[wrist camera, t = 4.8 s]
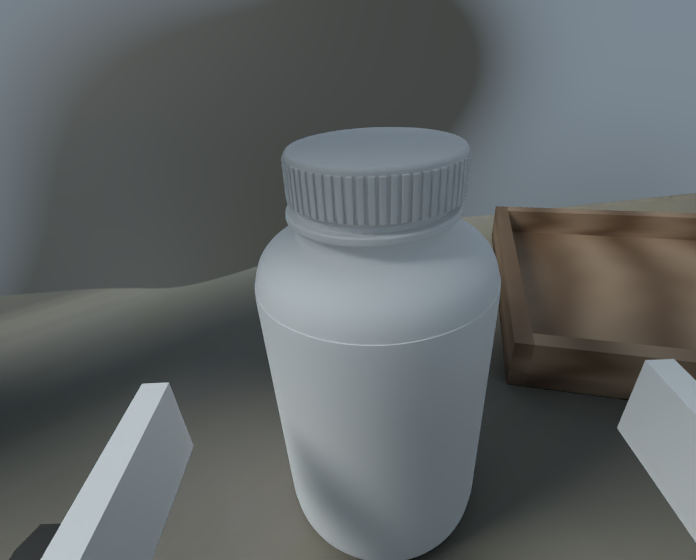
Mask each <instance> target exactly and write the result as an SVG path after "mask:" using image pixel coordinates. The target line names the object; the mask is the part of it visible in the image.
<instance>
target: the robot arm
mask: <svg viewBox="0 0 696 560" xmlns="http://www.w3.org/2000/svg"><path fill="white" fill-rule="evenodd" d="M617 429H618V430H619V432H620V433H621V435H622V436H623V438H624V439H625V440H626V442H627V443H628V445H629V446H630V448H631V449H632V451H633V452H634V453H635V455H636V456H637V458H638V459H639V461H640V462H641V464H642V465H643V466H644V468H645V469H646V471H647V472H648V474H649V475H650V477H651V478H652V480H653V481H654V482H655V484H656V485H657V487H658V488H659V490H660V491H661V493H662V494H663V495H664V497H665V498H666V500H667V501H668V503H669V504H670V506H671V507H672V509H673V510H674V511H675V513H676V514H677V516H678V517H679V519H680V520H681V522H682V523H683V524H684V526H685V527H686V529H687V530H688V532H689V533H690V535H691V536H692V537H693V539H694V540H695V542H696V380H695V379H694V378H693V377H692V376H691V375H690V374H689V373H688V372H687V371H686V370H685V369H684V368H683V367H682V366H681V365H680V364H679V363H678V362H677V361H676V360H675V359H659V360H645V362H644V364H643V367H642V369H641V372H640V374H639V376H638V379H637V381H636V384H635V386H634V388H633V391H632V393H631V396H630V398H629V400H628V403H627V405H626V408H625V410H624V412H623V415H622V417H621V420H620V422H619V424H618V427H617ZM193 447H194V446H193V444H192V441H191V438H190V436H189V433H188V431H187V428H186V425H185V423H184V420H183V417H182V415H181V412H180V410H179V407H178V404H177V402H176V399H175V397H174V394H173V391H172V389H171V386H170V384H169V382H167V383H146V384H142V385H141V386H140V388H139V390H138V391H137V393H136V395H135V397H134V398H133V400H132V402H131V404H130V405H129V407H128V409H127V411H126V412H125V414H124V416H123V417H122V419H121V421H120V423H119V424H118V426H117V428H116V430H115V431H114V433H113V435H112V437H111V438H110V440H109V442H108V443H107V445H106V447H105V449H104V450H103V452H102V454H101V456H100V457H99V459H98V461H97V463H96V464H95V466H94V468H93V469H92V471H91V473H90V475H89V476H88V478H87V480H86V482H85V483H84V485H83V487H82V489H81V490H80V492H79V494H78V495H77V497H76V499H75V501H74V502H73V504H72V506H71V508H70V509H69V511H68V513H67V515H66V516H65V518H64V520H63V521H62V523H61V524H41V525H40V526H39V527H38V528H37V529H36V530H35V531H34V532H33V533H32V534H31V535H30V536H29V537H28V538H27V539H26V540H25V541H24V542H23V543H22V544H21V545H20V546H19V547H18V548H17V549H16V550H15V551H14V553H13V555H12V556H11V558H10V559H9V560H152V559H153V556H154V553H155V551H156V548H157V545H158V542H159V540H160V537H161V534H162V532H163V529H164V526H165V523H166V521H167V518H168V515H169V512H170V510H171V507H172V504H173V501H174V499H175V496H176V493H177V490H178V488H179V485H180V482H181V479H182V477H183V474H184V471H185V468H186V466H187V463H188V460H189V458H190V455H191V452H192V449H193Z"/></svg>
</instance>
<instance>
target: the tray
mask: <svg viewBox="0 0 696 560" xmlns="http://www.w3.org/2000/svg"><path fill="white" fill-rule="evenodd" d="M492 242H493V251H494V254H495V256H496V259H497V262H498V267H499V272H500V276H501V290H500V299H499V311H500V321H501V331H502V341H503V351H504V361H505V371H506V381H507V384H513V385H521V386H528V387H536V388H544V389H551V390H559V391H566V392H574V393H581V394H589V395H597V396H604V397H612V398H619V399H627V400H629V398H630V396H631V393H632V391H633V388H634V386H635V384H636V381H637V379H638V376H639V374H640V372H641V369H642V367H643V364H644V362H645V360H659V359H675V360H676V361H677V362H678V363H679V364H680V365H681V366H682V367H683V368H684V369H685V370H686V371H687V372H688V373H689V374H690V375H691V376H692V377H693V378H694V379H695V380H696V213H667V212H639V211H611V210H582V209H554V208H523V207H497V206H496V209H495V217H494V224H493V231H492Z"/></svg>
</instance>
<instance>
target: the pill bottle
mask: <svg viewBox="0 0 696 560" xmlns="http://www.w3.org/2000/svg"><path fill="white" fill-rule="evenodd" d="M470 162H471V149H470V147H469V145H468V143H467V142H466V141H465V140H464V139H463V138H461V137H459V136H457V135H454V134H451V133H447V132H443V131H438V130H431V129H422V128H407V127H375V128H359V129H349V130H340V131H333V132H327V133H322V134H317V135H313V136H309V137H306V138H303V139H300V140H297V141H295V142H293V143H292V144H290V145H289V146H287V147H286V149H285V150H284V152H283V155H282V157H281V164H282V171H283V180H284V187H285V195H286V201H287V203H288V206H287V207H286V210H285V215H286V221H287V223H288V225H289V226H287V227H286V228H284V229H283V230H282V231H281V232H279V233H278V234H277V235H276V236H275V237H274V238H273V239H272V240H271V242H270V243H269V244H268V245H267V247H266V248H265V250H264V252H263V254H262V256H261V258H260V261H259V264H258V267H257V272H256V280H255V296H256V303H257V308H258V313H259V318H260V323H261V327H262V332H263V337H264V342H265V347H266V352H267V356H268V361H269V366H270V371H271V376H272V380H273V385H274V390H275V395H276V400H277V405H278V409H279V414H280V419H281V424H282V429H283V433H284V438H285V443H286V448H287V453H288V458H289V462H290V467H291V472H292V477H293V482H294V486H295V491H296V494H297V497H298V500H299V502H300V505H301V507H302V510H303V512H304V514H305V516H306V517H307V519H308V521H309V522H310V524H311V525H312V526H313V528H314V529H315V530H316V531H317V532H318V534H319V535H320V536H321V537H322V538H323V539H325V540H326V541H327V542H328V543H330V544H331V545H332V546H334V547H335V548H337V549H338V550H340V551H342V552H344V553H346V554H348V555H351V556H353V557H356V558H359V559H363V560H408V559H412V558H415V557H418V556H420V555H422V554H424V553H426V552H428V551H430V550H432V549H433V548H435V547H436V546H438V545H439V544H440V543H442V542H443V541H444V540H445V539H446V538H447V537H448V536H449V535H450V534H451V533H452V531H453V530H454V529H455V528H456V526H457V525H458V523H459V521H460V520H461V518H462V516H463V514H464V511H465V509H466V506H467V503H468V500H469V497H470V493H471V488H472V482H473V475H474V468H475V462H476V455H477V448H478V441H479V435H480V428H481V421H482V414H483V408H484V401H485V394H486V387H487V381H488V374H489V367H490V360H491V354H492V347H493V340H494V333H495V327H496V320H497V313H498V307H499V299H500V290H501V276H500V272H499V267H498V262H497V259H496V256H495V254H494V251H493V249H492V247H491V246H490V244H489V243H488V241H487V240H486V239H485V237H484V236H483V235H482V234H481V233H480V232H479V231H478V230H477V229H475V228H474V227H473V226H472V225H470V224H469V223H467V222H466V221H464V220H463V219H461V216H462V213H463V201H465V199H466V197H467V192H468V183H469V172H470Z"/></svg>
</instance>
